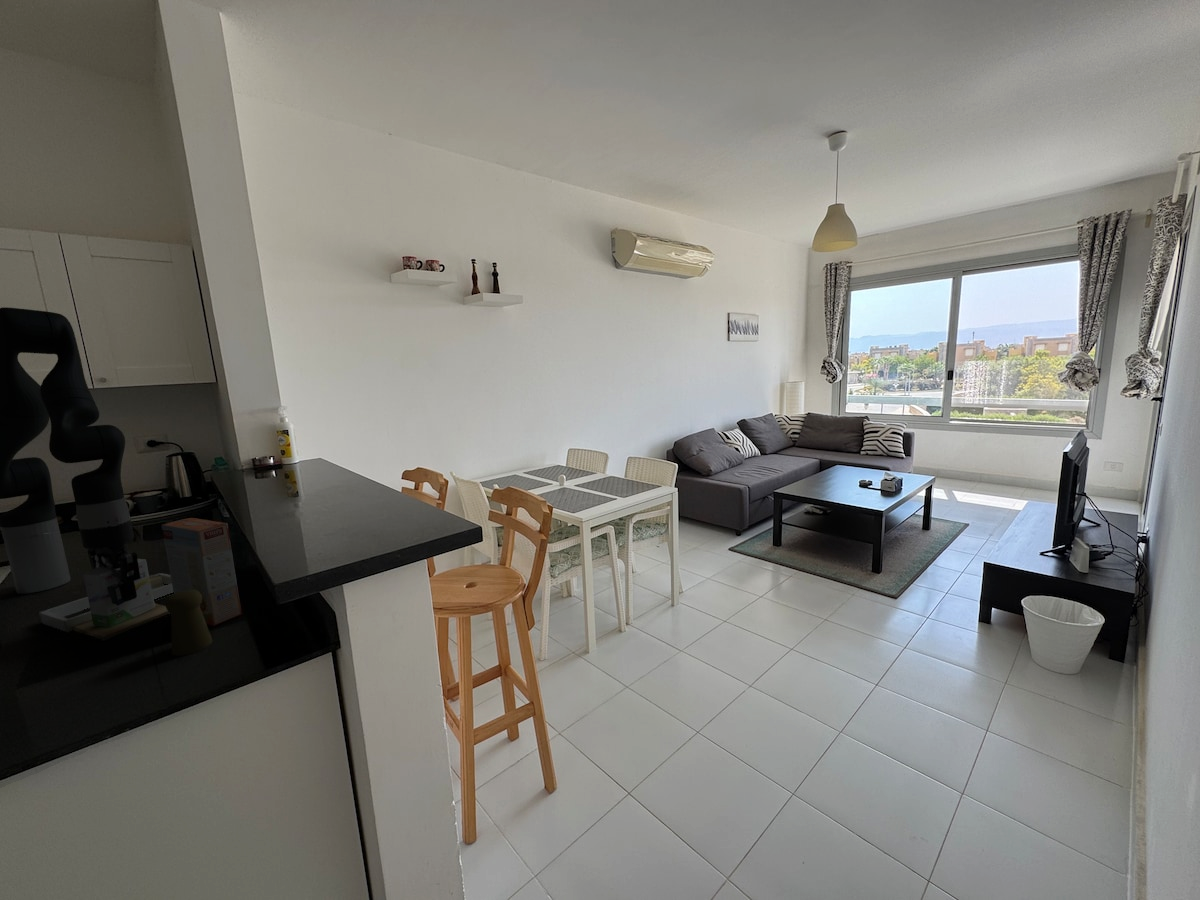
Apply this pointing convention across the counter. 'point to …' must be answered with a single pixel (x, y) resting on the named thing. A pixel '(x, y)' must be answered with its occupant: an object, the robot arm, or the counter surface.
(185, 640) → the pepper shaker
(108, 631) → the striped wooden board
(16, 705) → the counter surface
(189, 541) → the cracker box
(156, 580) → the beech block
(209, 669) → the counter surface
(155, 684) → the counter surface
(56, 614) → the white slotted tray
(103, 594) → the ink box
